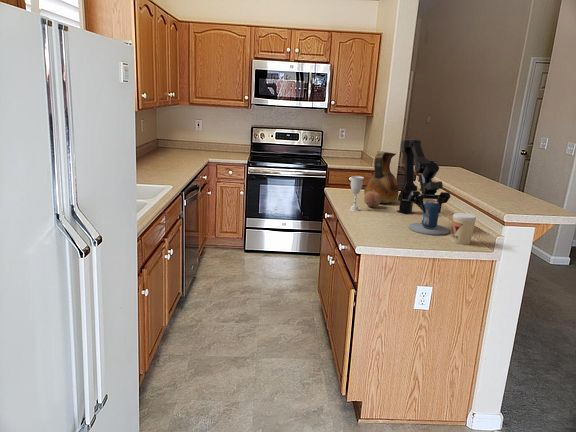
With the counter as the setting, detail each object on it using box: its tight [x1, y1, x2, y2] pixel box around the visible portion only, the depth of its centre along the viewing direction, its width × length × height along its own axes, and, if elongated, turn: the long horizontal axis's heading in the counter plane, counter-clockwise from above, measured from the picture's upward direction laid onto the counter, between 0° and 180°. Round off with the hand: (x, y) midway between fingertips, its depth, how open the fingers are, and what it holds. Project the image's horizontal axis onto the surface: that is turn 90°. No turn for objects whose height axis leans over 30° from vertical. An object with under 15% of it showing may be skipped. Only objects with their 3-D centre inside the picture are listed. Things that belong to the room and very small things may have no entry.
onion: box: [363, 190, 382, 208], centre depth 257 cm, size 10×9×10 cm
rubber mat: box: [408, 222, 450, 236], centre depth 217 cm, size 18×18×1 cm
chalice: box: [349, 175, 365, 212], centre depth 248 cm, size 7×7×18 cm
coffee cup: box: [451, 212, 477, 246], centre depth 199 cm, size 9×9×12 cm
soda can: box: [421, 199, 440, 228], centre depth 215 cm, size 7×7×12 cm
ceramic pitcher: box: [363, 151, 400, 204], centre depth 271 cm, size 20×20×30 cm
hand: (432, 212), depth 214 cm, fingers closed on soda can, 7 cm apart
